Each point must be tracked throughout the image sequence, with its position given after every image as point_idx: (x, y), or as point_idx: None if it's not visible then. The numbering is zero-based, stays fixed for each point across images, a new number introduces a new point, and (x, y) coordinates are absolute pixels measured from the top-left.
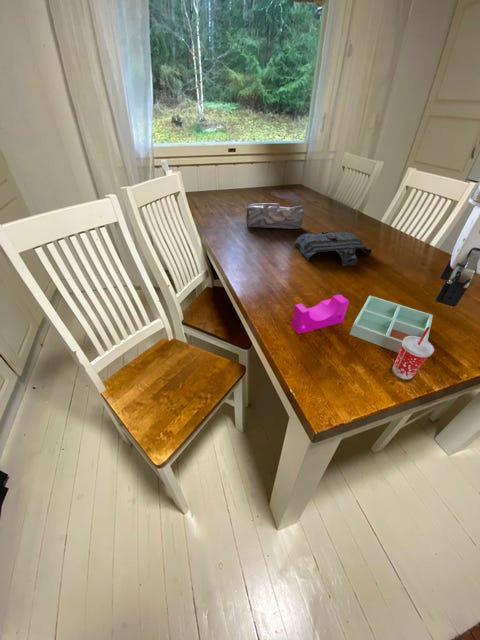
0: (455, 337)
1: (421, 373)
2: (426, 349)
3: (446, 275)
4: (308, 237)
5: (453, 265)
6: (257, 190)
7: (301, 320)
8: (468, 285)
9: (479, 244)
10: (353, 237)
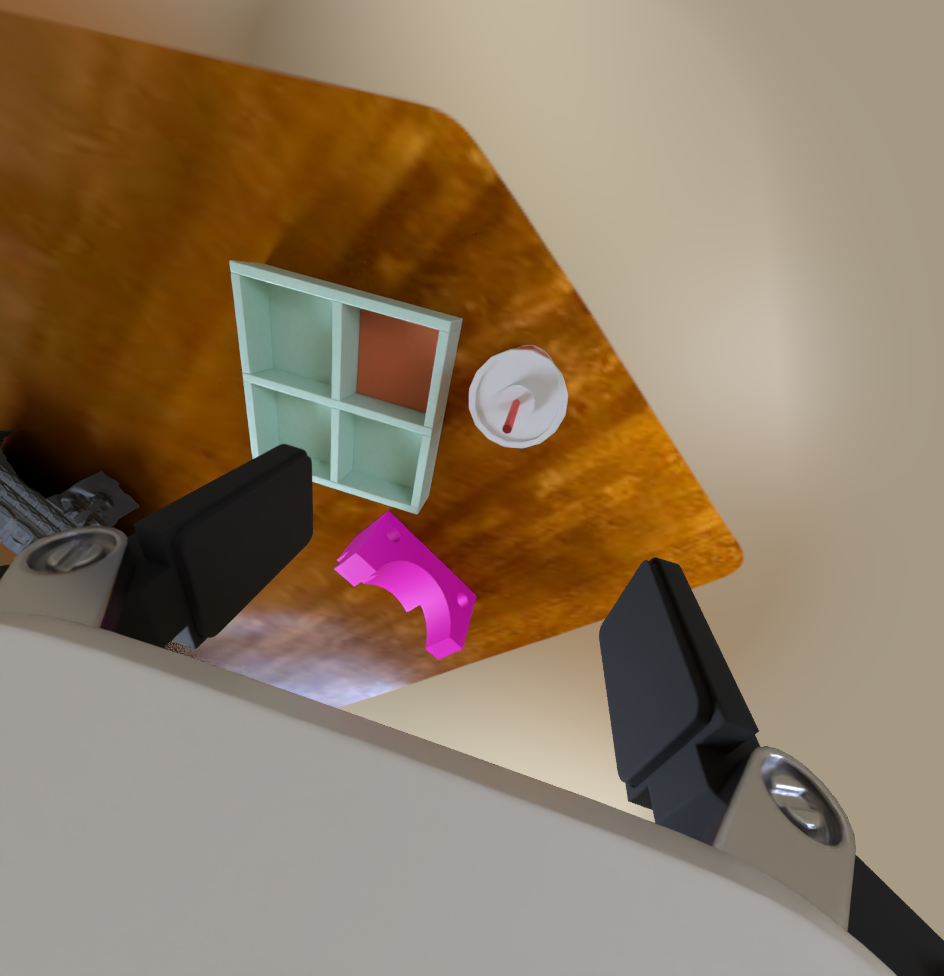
0: (277, 157)
1: (515, 318)
2: (531, 376)
3: (292, 541)
4: None
5: None
6: None
7: (466, 626)
8: (854, 836)
9: None
10: None
